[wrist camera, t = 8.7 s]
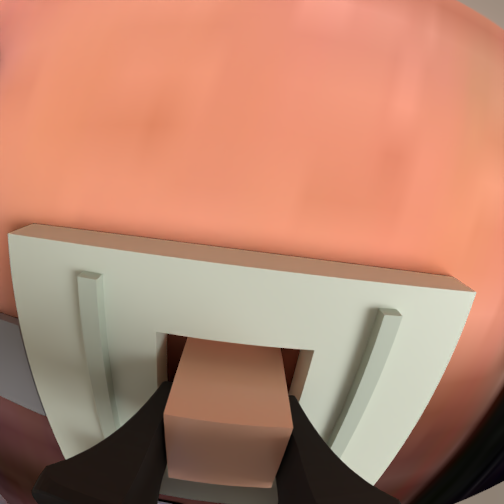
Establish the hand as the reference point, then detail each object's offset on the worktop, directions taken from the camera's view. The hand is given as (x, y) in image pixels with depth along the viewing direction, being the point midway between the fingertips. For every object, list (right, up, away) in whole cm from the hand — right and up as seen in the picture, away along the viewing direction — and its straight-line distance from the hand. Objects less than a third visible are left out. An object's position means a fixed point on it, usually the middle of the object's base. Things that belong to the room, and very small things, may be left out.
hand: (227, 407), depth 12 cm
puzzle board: (0, -1, +3) cm, 3 cm away
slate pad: (-15, 0, +2) cm, 15 cm away
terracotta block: (0, +1, +2) cm, 2 cm away
